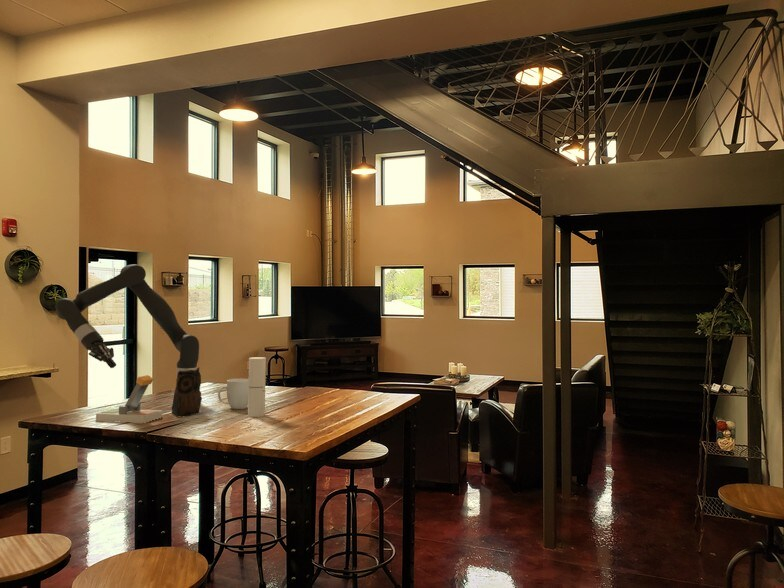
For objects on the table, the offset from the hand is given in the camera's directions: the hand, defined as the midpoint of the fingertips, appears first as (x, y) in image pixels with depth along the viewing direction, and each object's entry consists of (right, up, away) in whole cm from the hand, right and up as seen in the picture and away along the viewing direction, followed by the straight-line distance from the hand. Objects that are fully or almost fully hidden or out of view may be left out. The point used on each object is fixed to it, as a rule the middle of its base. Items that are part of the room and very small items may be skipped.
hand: (113, 366), depth 229 cm
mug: (+44, -23, +26) cm, 56 cm away
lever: (+7, -18, -2) cm, 20 cm away
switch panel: (+8, -22, -2) cm, 23 cm away
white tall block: (+57, -23, +10) cm, 62 cm away
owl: (+25, -22, +12) cm, 36 cm away
